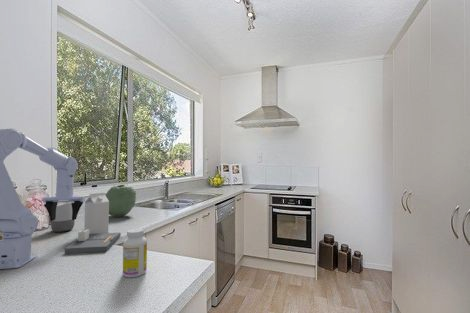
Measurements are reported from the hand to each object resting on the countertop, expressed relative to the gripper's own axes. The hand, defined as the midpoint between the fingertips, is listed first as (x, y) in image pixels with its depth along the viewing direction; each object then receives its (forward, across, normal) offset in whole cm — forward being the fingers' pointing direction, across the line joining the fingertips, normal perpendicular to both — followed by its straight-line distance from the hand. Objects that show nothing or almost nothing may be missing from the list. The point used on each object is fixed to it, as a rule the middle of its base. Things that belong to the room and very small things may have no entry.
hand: (63, 219), depth 96 cm
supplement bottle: (+10, -34, +32) cm, 47 cm away
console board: (+10, -13, +3) cm, 16 cm away
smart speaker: (+10, +10, -22) cm, 26 cm away
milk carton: (+10, -8, -12) cm, 18 cm away
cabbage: (+10, -9, -50) cm, 51 cm away
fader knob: (+8, -8, +3) cm, 12 cm away
